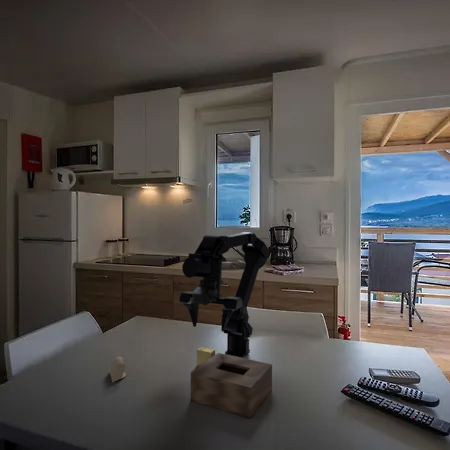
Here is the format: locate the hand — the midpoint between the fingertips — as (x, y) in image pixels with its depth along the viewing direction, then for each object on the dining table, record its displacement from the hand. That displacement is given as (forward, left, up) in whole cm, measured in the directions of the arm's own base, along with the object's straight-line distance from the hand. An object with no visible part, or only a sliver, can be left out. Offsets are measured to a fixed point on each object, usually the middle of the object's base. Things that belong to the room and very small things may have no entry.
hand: (208, 328), depth 101 cm
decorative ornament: (-20, -17, -12) cm, 29 cm away
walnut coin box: (+14, -11, -12) cm, 21 cm away
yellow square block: (-1, +1, -12) cm, 12 cm away
